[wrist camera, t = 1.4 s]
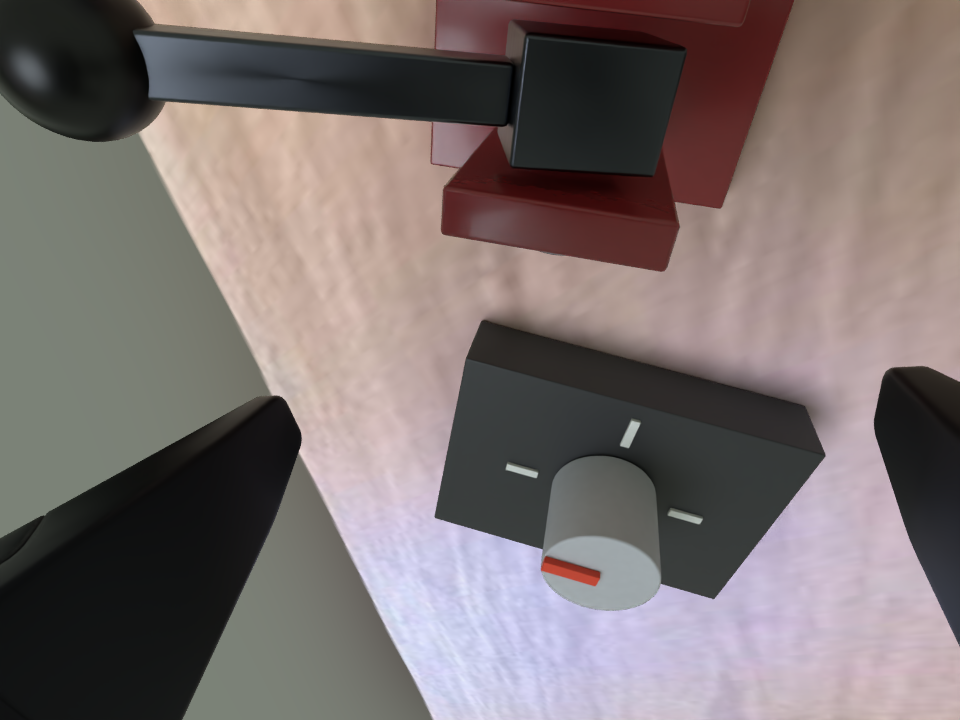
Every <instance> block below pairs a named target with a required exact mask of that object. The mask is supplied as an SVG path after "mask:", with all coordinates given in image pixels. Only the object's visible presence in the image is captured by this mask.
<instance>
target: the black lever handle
mask: <svg viewBox="0 0 960 720" xmlns="http://www.w3.org/2000/svg"><path fill="white" fill-rule="evenodd" d="M686 56H687V49H686V48H685V47H683V46H681V45H678V44H675V43H673V42H670V41H667V40H664V39H662V38H659V37H656V36H653V35H650V34H648V33H645V32H640V31H630V30H619V29H609V28H599V27H589V26H578V25H568V24H558V23H548V22H537V21H527V20H517V19H513V20H510V22H509V24H508V34H507V44H506V54H505V55H495V54H484V53H473V52H462V51H451V50H440V49H429V48H417V47H406V46H395V45H384V44H373V43H362V42H351V41H340V40H329V39H318V38H307V37H296V36H285V35H273V34H262V33H251V32H240V31H229V30H218V29H207V28H196V27H185V26H174V25H163V24H155V23H154V22H153V20H152V18H151V17H150V16H149V14H148V13H147V12H146V10H145V9H144V8H143V7H142V5H141V4H140V3H139V2H138V1H137V0H0V94H1V95H2V96H3V97H4V98H5V99H6V100H7V101H8V102H9V103H10V104H11V105H12V106H13V107H14V108H16V109H17V110H18V111H19V112H20V113H22V114H23V115H24V116H26V117H27V118H28V119H30V120H31V121H33V122H35V123H36V124H38V125H40V126H42V127H44V128H46V129H48V130H50V131H52V132H55V133H57V134H60V135H63V136H66V137H69V138H73V139H77V140H84V141H92V142H105V141H113V140H119V139H123V138H127V137H129V136H132V135H134V134H136V133H138V132H140V131H142V130H143V129H144V128H146V127H147V126H148V125H149V124H151V123H152V122H153V121H154V120H155V119H156V118H157V116H158V115H159V113H160V112H161V110H162V108H163V107H164V104H165V102H179V103H192V104H206V105H219V106H232V107H245V108H258V109H271V110H284V111H298V112H311V113H324V114H337V115H350V116H363V117H376V118H389V119H403V120H416V121H429V122H442V123H455V124H468V125H481V126H495V127H498V136H499V138H500V141H501V144H502V146H503V149H504V152H505V154H506V157H507V160H508V162H509V165H510V167H512V168H514V169H529V170H544V171H558V172H573V173H588V174H603V175H617V176H632V177H647V178H649V177H653V176H654V174H655V171H656V167H657V164H658V160H659V156H660V152H661V149H662V145H663V141H664V137H665V134H666V130H667V126H668V123H669V119H670V115H671V111H672V108H673V104H674V100H675V97H676V93H677V89H678V85H679V82H680V78H681V74H682V70H683V67H684V63H685V59H686Z"/></svg>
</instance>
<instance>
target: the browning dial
mask: <svg viewBox="0 0 960 720" xmlns="http://www.w3.org/2000/svg"><path fill="white" fill-rule="evenodd" d="M541 571H542V574H543V577H544V579H545V581H546V583H547V584H548V585H549V587H550V588H551V589H552V590H553V591H554V592H556V593H557V594H558V595H560V596H561V597H563V598H564V599H566V600H568V601H570V602H572V603H575V604H577V605H580V606H583V607H587V608H591V609H596V610H606V611H616V610H625V609H630V608H634V607H637V606H640V605H642V604H644V603H646V602H647V601H649V600H650V599H651V598H652V597H654V595H655V594H656V593H657V591H658V589H659V587H660V584H661V564H660V548H659V533H658V517H657V502H656V491H655V487H654V485H653V483H652V481H651V479H650V478H649V477H648V476H647V474H646V473H645V472H644V471H642V470H641V469H640V468H638V467H637V466H635V465H634V464H632V463H630V462H628V461H625V460H622V459H619V458H615V457H610V456H588V457H583V458H579V459H576V460H574V461H571V462H570V463H568V464H566V465H565V466H563V467H562V468H561V469H560V470H559V471H558V473H557V474H556V475H555V477H554V479H553V482H552V488H551V495H550V502H549V509H548V516H547V524H546V531H545V538H544V545H543V552H542V560H541Z"/></svg>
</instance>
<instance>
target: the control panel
mask: <svg viewBox="0 0 960 720" xmlns="http://www.w3.org/2000/svg"><path fill="white" fill-rule="evenodd" d="M588 456H610V457H615V458H619V459H622V460H625V461H628V462H630V463H632V464H634V465H635V466H637V467H638V468H640V469H641V470H642V471H644V472H645V473H646V474H647V476H648V477H649V478H650V479H651V481H652V483H653V485H654V487H655V491H656V502H657V517H658V533H659V548H660V564H661V584H664V585H667V586H670V587H674V588H677V589H681V590H684V591H688V592H691V593H694V594H698V595H701V596H705V597H708V598H712V599H715V597H716V596H717V595H718V594H719V592H720V591H721V590H722V588H723V587H724V586H725V585H726V583H727V582H728V581H729V579H730V578H731V577H732V576H733V574H734V573H735V572H736V571H737V569H738V568H739V567H740V565H741V564H742V563H743V562H744V560H745V559H746V558H747V556H748V555H749V554H750V553H751V551H752V550H753V549H754V547H755V546H756V545H757V544H758V542H759V541H760V540H761V538H762V537H763V536H764V535H765V533H766V532H767V531H768V529H769V528H770V527H771V526H772V524H773V523H774V522H775V520H776V519H777V518H778V517H779V515H780V514H781V513H782V511H783V510H784V509H785V508H786V506H787V505H788V504H789V502H790V501H791V500H792V499H793V497H794V496H795V495H796V493H797V492H798V491H799V490H800V488H801V487H802V486H803V484H804V483H805V482H806V481H807V479H808V478H809V477H810V475H811V474H812V473H813V472H814V470H815V469H816V468H817V466H818V465H819V464H820V463H821V461H822V460H823V459H824V457H825V452H824V450H823V448H822V445H821V443H820V440H819V438H818V436H817V433H816V431H815V429H814V426H813V424H812V422H811V419H810V417H809V415H808V412H807V410H806V407H805V406H802V405H798V404H794V403H790V402H787V401H783V400H779V399H775V398H772V397H768V396H764V395H760V394H756V393H753V392H749V391H745V390H741V389H738V388H734V387H730V386H726V385H723V384H719V383H715V382H711V381H707V380H704V379H700V378H696V377H692V376H689V375H685V374H681V373H677V372H674V371H670V370H666V369H662V368H658V367H655V366H651V365H647V364H643V363H640V362H636V361H632V360H628V359H624V358H621V357H617V356H613V355H609V354H606V353H602V352H598V351H594V350H591V349H587V348H583V347H579V346H575V345H572V344H568V343H564V342H560V341H557V340H553V339H549V338H545V337H541V336H538V335H534V334H530V333H526V332H523V331H519V330H515V329H511V328H508V327H504V326H500V325H496V324H492V323H489V322H485V321H481V323H480V326H479V328H478V330H477V333H476V335H475V338H474V340H473V343H472V345H471V347H470V350H469V352H468V355H467V357H466V361H465V366H464V371H463V376H462V381H461V386H460V391H459V396H458V401H457V406H456V411H455V416H454V421H453V426H452V431H451V436H450V441H449V446H448V451H447V456H446V461H445V466H444V471H443V476H442V481H441V486H440V491H439V496H438V502H437V507H436V512H435V518H437V519H440V520H444V521H447V522H451V523H454V524H458V525H461V526H464V527H468V528H471V529H475V530H478V531H482V532H485V533H489V534H492V535H495V536H499V537H502V538H506V539H509V540H513V541H516V542H519V543H523V544H526V545H530V546H533V547H537V548H540V549H543V545H544V538H545V531H546V524H547V516H548V509H549V502H550V495H551V488H552V482H553V479H554V477H555V475H556V474H557V473H558V471H559V470H560V469H561V468H562V467H563V466H565V465H566V464H568V463H570V462H571V461H574V460H576V459H579V458H583V457H588Z"/></svg>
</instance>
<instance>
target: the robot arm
mask: <svg viewBox="0 0 960 720" xmlns="http://www.w3.org/2000/svg"><path fill="white" fill-rule="evenodd" d="M874 430H875V435H876V439H877V442H878V445H879V448H880V451H881V454H882V457H883V460H884V463H885V466H886V469H887V472H888V476H889V479H890V482H891V485H892V488H893V491H894V494H895V497H896V500H897V503H898V506H899V509H900V513H901V516H902V519H903V522H904V525H905V527H906V530H907V533H908V536H909V539H910V541H911V543H912V546H913V548H914V550H915V553H916V555H917V557H918V559H919V561H920V564H921V566H922V568H923V570H924V572H925V574H926V576H927V578H928V580H929V583H930V585H931V587H932V589H933V591H934V593H935V595H936V597H937V599H938V602H939V604H940V606H941V608H942V610H943V612H944V614H945V616H946V618H947V621H948V623H949V625H950V627H951V629H952V631H953V633H954V635H955V637H956V640H957V642H958V644H959V646H960V382H959V381H957V380H955V379H952V378H950V377H948V376H946V375H944V374H942V373H940V372H938V371H936V370H934V369H931V368H929V367H925V366H915V367H894V368H890V369H889V370H887V371H886V372H885V374H884V376H883V379H882V384H881V388H880V393H879V398H878V403H877V408H876V412H875V418H874ZM301 441H302V437H301V431H300V429H299V427H298V425H297V423H296V421H295V419H294V417H293V415H292V412H291V410H290V408H289V406H288V404H287V402H286V401H285V400H284V399H283V398H282V397H280V396H260V397H256V398H254V399H253V400H251V401H249V402H247V403H245V404H244V405H242V406H240V407H238V408H236V409H234V410H233V411H231V412H229V413H227V414H225V415H223V416H222V417H220V418H218V419H216V420H215V421H213V422H211V423H209V424H207V425H205V426H204V427H202V428H200V429H198V430H196V431H195V432H193V433H191V434H189V435H187V436H186V437H184V438H182V439H180V440H178V441H176V442H175V443H173V444H171V445H169V446H167V447H165V448H164V449H162V450H160V451H158V452H156V453H155V454H153V455H151V456H149V457H147V458H146V459H144V460H142V461H140V462H138V463H136V464H135V465H133V466H131V467H129V468H127V469H126V470H124V471H122V472H120V473H118V474H116V475H115V476H113V477H111V478H109V479H107V480H106V481H104V482H102V483H100V484H98V485H97V486H95V487H93V488H91V489H89V490H88V491H86V492H84V493H82V494H80V495H78V496H77V497H75V498H73V499H71V500H69V501H68V502H66V503H64V504H62V505H60V506H59V507H57V508H55V509H53V510H51V511H49V512H48V513H47V514H46V515H45V516H40V517H39V518H37V519H35V520H33V521H31V522H30V523H27V524H26V525H24V526H22V527H20V528H18V529H17V530H15V531H13V532H11V533H9V534H7V535H5V536H4V537H2V538H0V720H182V719H183V717H184V715H185V713H186V711H187V708H188V706H189V704H190V702H191V700H192V698H193V695H194V693H195V691H196V689H197V687H198V685H199V683H200V680H201V678H202V676H203V674H204V672H205V670H206V667H207V665H208V663H209V661H210V659H211V657H212V655H213V652H214V650H215V648H216V646H217V644H218V642H219V639H220V637H221V635H222V633H223V631H224V629H225V627H226V624H227V622H228V620H229V618H230V616H231V614H232V611H233V609H234V607H235V605H236V603H237V601H238V599H239V596H240V594H241V592H242V590H243V588H244V586H245V583H246V581H247V579H248V577H249V575H250V573H251V570H252V568H253V566H254V564H255V562H256V560H257V558H258V555H259V553H260V551H261V549H262V547H263V545H264V542H265V540H266V538H267V536H268V534H269V532H270V529H271V527H272V525H273V522H274V520H275V517H276V515H277V512H278V509H279V506H280V504H281V501H282V498H283V495H284V492H285V489H286V486H287V484H288V481H289V478H290V475H291V472H292V469H293V466H294V464H295V461H296V458H297V455H298V452H299V449H300V446H301Z"/></svg>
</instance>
